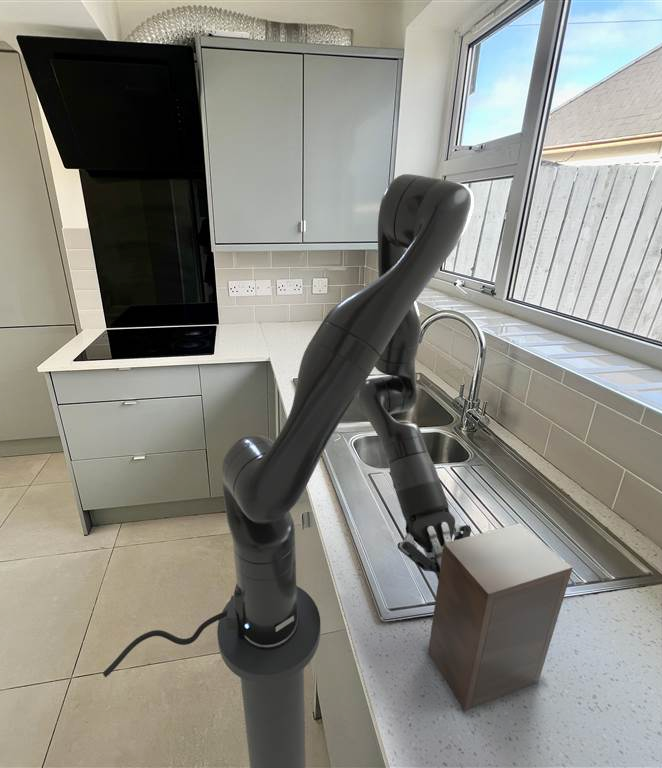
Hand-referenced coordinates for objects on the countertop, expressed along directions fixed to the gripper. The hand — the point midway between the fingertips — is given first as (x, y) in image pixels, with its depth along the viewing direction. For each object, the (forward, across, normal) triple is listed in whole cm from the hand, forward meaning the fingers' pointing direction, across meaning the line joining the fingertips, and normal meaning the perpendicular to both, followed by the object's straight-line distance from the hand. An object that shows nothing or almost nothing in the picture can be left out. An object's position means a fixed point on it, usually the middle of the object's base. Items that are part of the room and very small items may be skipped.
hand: (454, 597), depth 62 cm
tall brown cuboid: (+8, 0, -2) cm, 8 cm away
